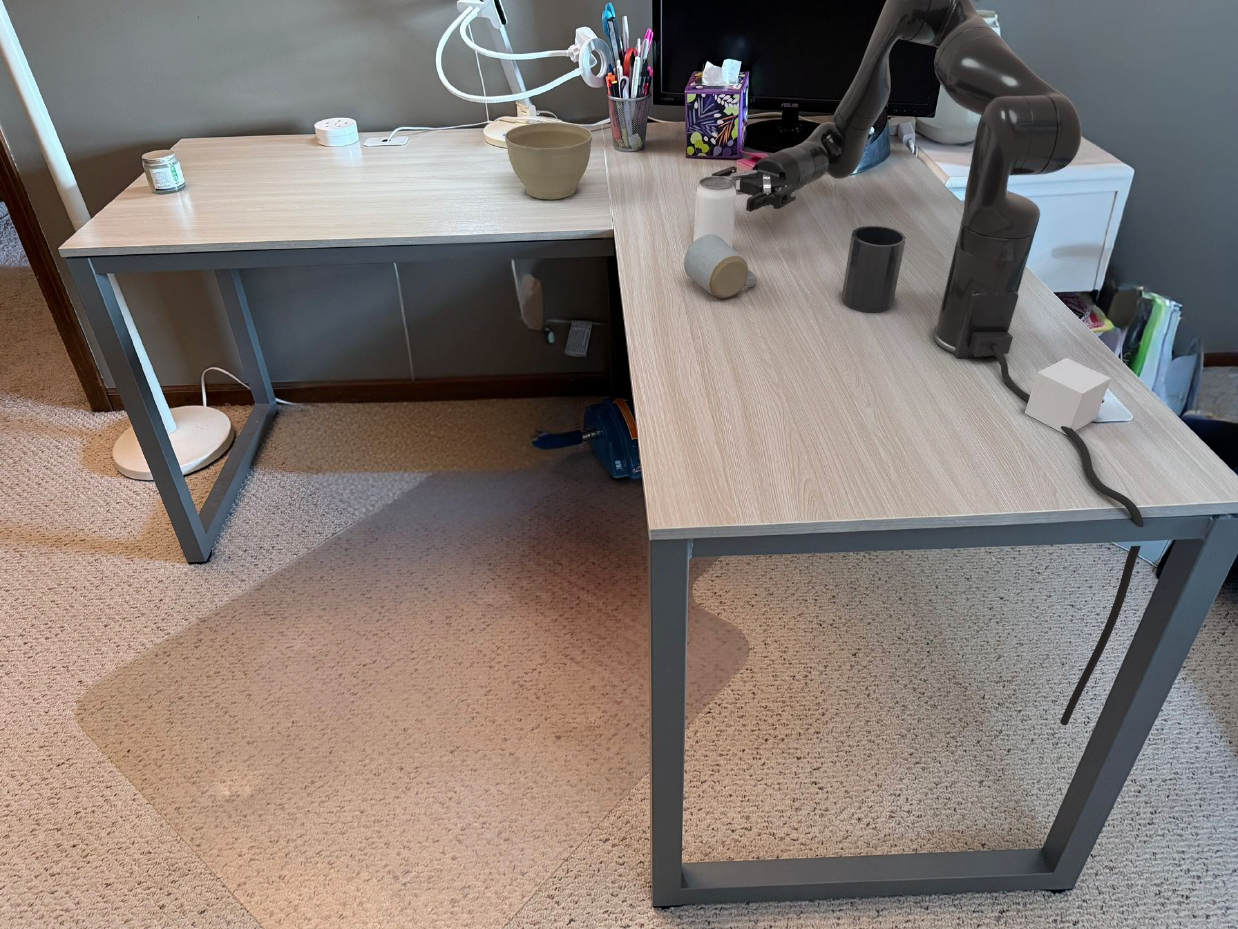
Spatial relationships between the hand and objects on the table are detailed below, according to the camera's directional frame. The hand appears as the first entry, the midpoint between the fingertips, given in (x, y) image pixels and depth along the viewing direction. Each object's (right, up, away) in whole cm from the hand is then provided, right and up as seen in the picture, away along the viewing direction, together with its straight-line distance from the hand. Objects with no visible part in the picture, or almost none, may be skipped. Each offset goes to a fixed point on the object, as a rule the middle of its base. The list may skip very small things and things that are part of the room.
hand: (727, 198), depth 150 cm
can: (-2, -8, +3) cm, 9 cm away
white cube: (+37, -38, -36) cm, 64 cm away
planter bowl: (-31, +9, +26) cm, 41 cm away
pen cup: (+20, -19, -11) cm, 30 cm away
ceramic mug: (-2, -16, -7) cm, 18 cm away
